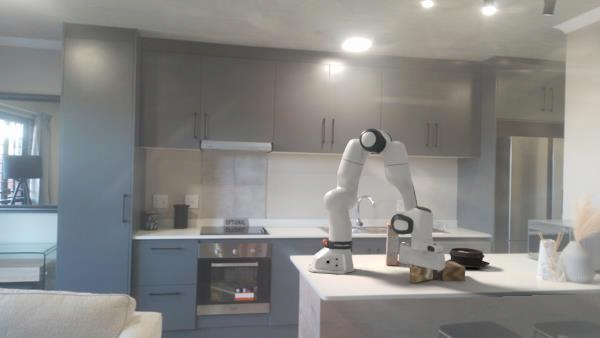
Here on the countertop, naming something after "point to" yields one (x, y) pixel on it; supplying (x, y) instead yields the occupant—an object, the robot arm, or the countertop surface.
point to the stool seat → (450, 272)
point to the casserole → (468, 257)
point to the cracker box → (391, 246)
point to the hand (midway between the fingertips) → (420, 276)
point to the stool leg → (419, 274)
